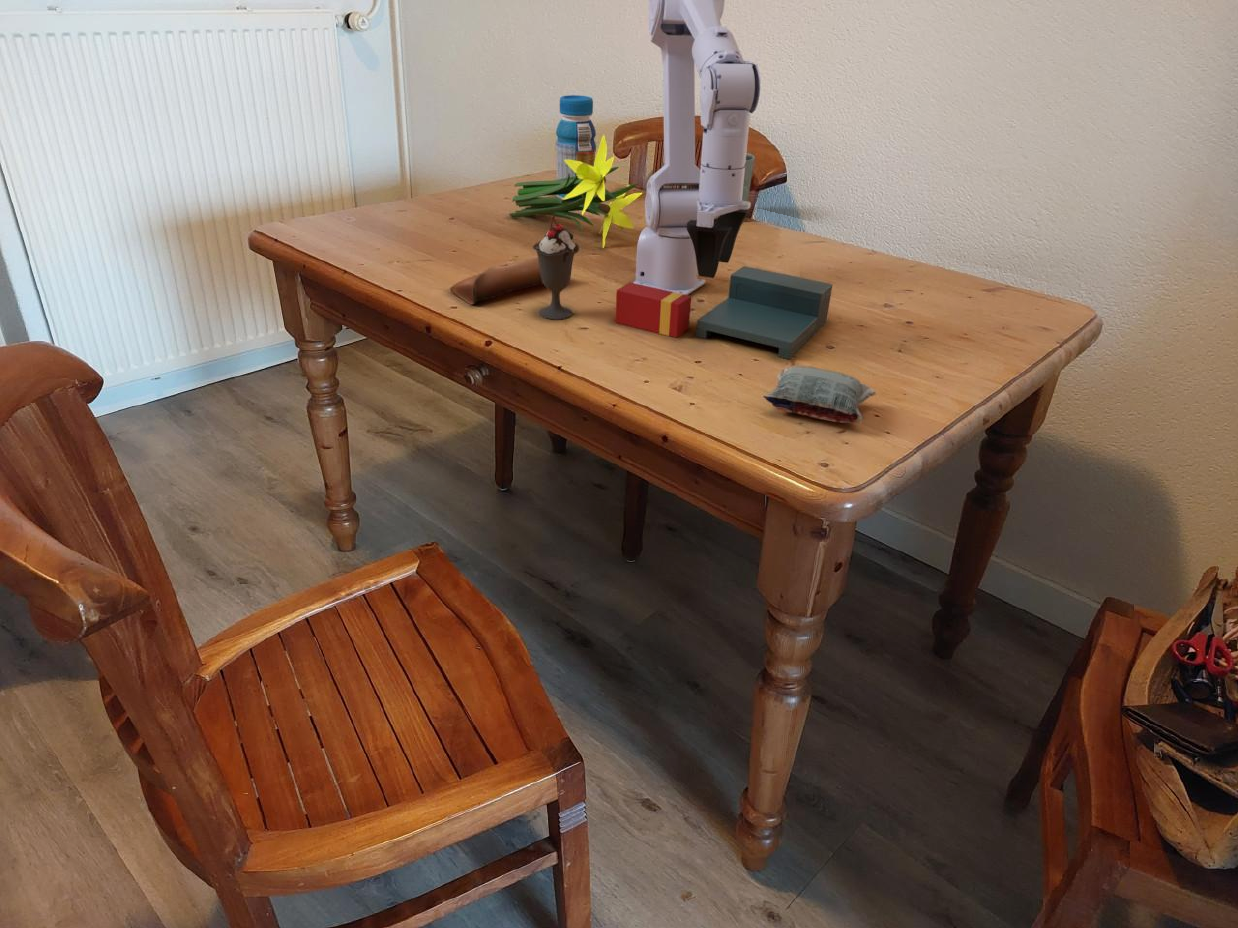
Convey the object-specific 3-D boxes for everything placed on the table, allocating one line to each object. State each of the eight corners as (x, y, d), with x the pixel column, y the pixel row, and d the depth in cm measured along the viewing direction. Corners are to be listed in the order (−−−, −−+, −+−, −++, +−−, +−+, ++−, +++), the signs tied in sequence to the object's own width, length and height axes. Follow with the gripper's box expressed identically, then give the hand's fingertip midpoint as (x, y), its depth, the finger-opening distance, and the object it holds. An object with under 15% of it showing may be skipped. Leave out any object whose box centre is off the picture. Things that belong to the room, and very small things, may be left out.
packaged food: (779, 385, 111) (784, 350, 108) (873, 406, 107) (881, 369, 104) (760, 415, 104) (764, 377, 101) (859, 438, 100) (867, 400, 97)
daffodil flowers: (566, 210, 181) (682, 201, 154) (523, 259, 176) (635, 258, 150) (518, 142, 171) (633, 119, 144) (471, 192, 166) (581, 178, 140)
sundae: (544, 325, 125) (543, 221, 117) (526, 309, 130) (524, 208, 123) (585, 318, 128) (587, 216, 120) (566, 303, 133) (567, 204, 125)
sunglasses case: (538, 266, 145) (550, 237, 140) (560, 297, 144) (574, 269, 138) (445, 288, 135) (455, 258, 130) (468, 322, 133) (479, 293, 128)
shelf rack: (695, 336, 124) (699, 296, 121) (739, 303, 136) (743, 265, 133) (789, 359, 118) (795, 318, 115) (826, 322, 130) (832, 284, 127)
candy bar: (615, 322, 127) (616, 289, 124) (628, 314, 130) (630, 282, 127) (676, 338, 123) (679, 304, 120) (689, 329, 126) (691, 295, 123)
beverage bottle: (551, 201, 183) (551, 99, 173) (560, 191, 190) (560, 93, 180) (590, 204, 182) (592, 102, 172) (598, 194, 189) (600, 95, 179)
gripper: (739, 178, 105) (729, 287, 112) (765, 159, 117) (754, 258, 124) (683, 173, 107) (677, 280, 114) (714, 154, 119) (706, 252, 126)
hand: (714, 268), depth 119 cm, fingers open, 7 cm apart
